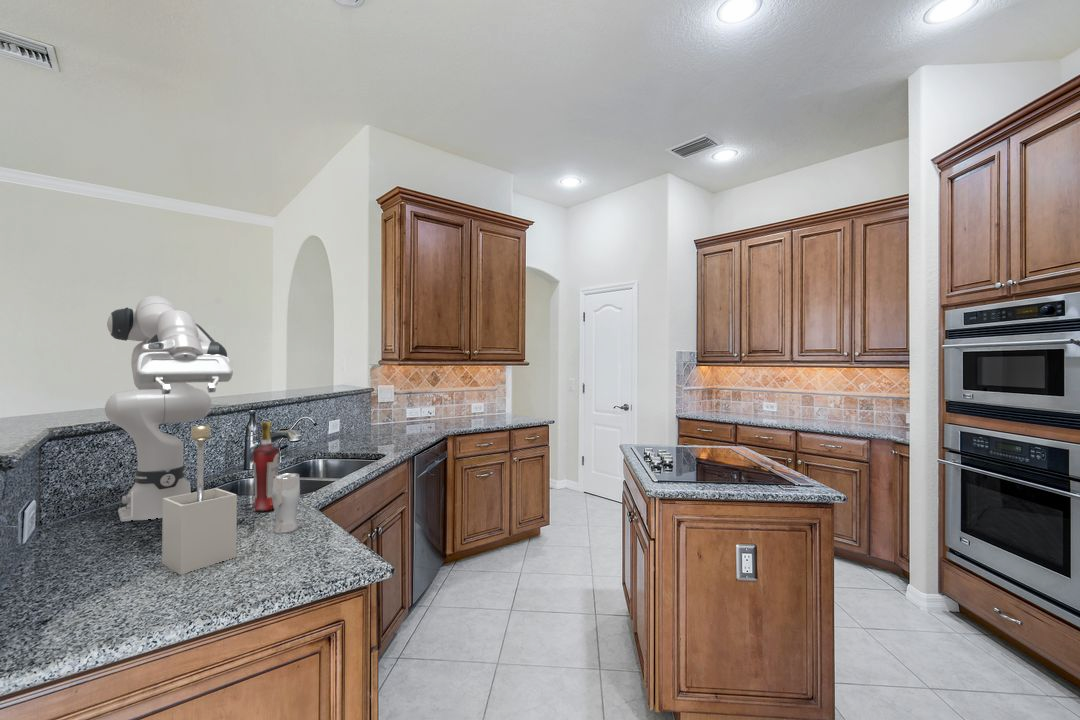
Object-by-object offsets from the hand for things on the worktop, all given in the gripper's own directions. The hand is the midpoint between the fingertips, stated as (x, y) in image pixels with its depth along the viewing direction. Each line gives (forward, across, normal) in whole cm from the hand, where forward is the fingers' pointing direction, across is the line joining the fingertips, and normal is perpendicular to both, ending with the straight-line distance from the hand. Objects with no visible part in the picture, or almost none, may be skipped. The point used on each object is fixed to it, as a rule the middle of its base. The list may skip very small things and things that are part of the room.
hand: (190, 391), depth 117 cm
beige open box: (+36, 0, -19) cm, 41 cm away
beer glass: (+31, -21, -25) cm, 45 cm away
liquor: (+14, -23, -42) cm, 50 cm away
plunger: (+28, 0, -11) cm, 30 cm away
